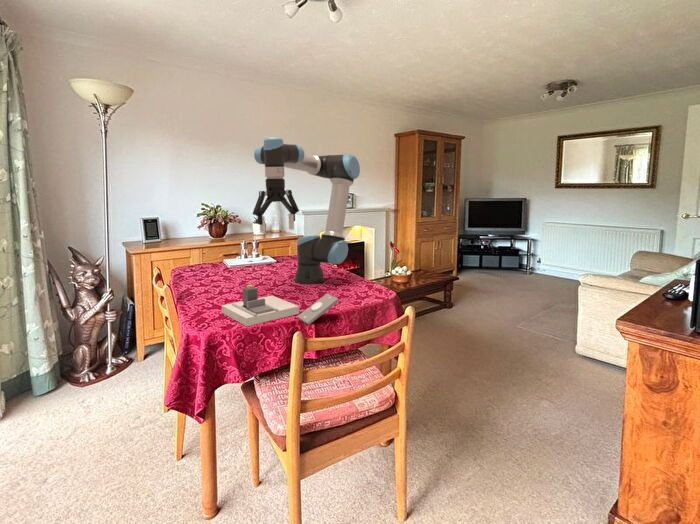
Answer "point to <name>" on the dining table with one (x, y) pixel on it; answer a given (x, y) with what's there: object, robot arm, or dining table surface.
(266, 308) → the shutter
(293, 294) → the dining table surface
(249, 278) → the dining table surface
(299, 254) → the robot arm
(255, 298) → the plug
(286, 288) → the dining table surface
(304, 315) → the light switch
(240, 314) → the socket board
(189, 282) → the dining table surface
